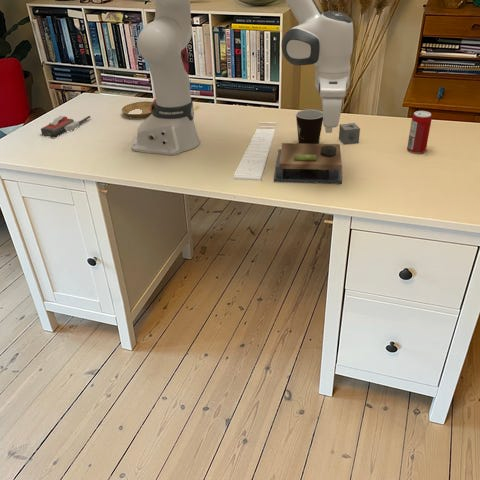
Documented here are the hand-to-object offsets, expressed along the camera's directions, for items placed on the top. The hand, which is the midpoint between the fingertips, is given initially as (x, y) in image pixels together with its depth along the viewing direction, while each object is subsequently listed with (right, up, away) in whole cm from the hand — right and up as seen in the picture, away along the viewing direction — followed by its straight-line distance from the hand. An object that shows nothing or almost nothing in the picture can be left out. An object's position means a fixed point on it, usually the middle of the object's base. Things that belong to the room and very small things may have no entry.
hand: (328, 130), depth 136 cm
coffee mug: (-2, +2, +25) cm, 25 cm away
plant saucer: (-62, +18, +54) cm, 84 cm away
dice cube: (+11, +2, +25) cm, 27 cm away
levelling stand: (-5, -10, +8) cm, 13 cm away
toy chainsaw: (-88, +10, +44) cm, 99 cm away
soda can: (+30, -3, +17) cm, 35 cm away
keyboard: (-18, -1, +23) cm, 30 cm away
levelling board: (-4, -7, +5) cm, 10 cm away
